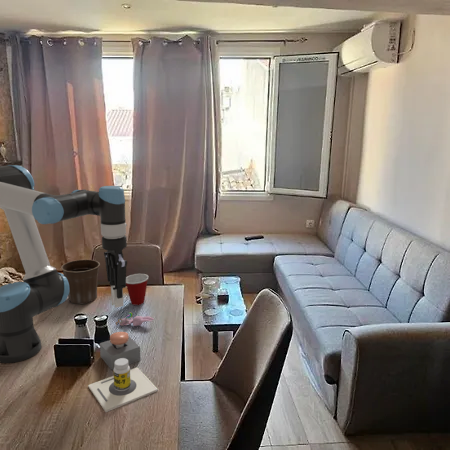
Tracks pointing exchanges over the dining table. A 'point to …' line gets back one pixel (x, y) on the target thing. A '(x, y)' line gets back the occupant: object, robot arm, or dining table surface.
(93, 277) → the plant pot
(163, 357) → the dining table surface
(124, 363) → the supplement bottle
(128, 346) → the button housing
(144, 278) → the plastic cup
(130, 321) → the pink unicorn toy
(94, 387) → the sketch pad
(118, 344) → the button
